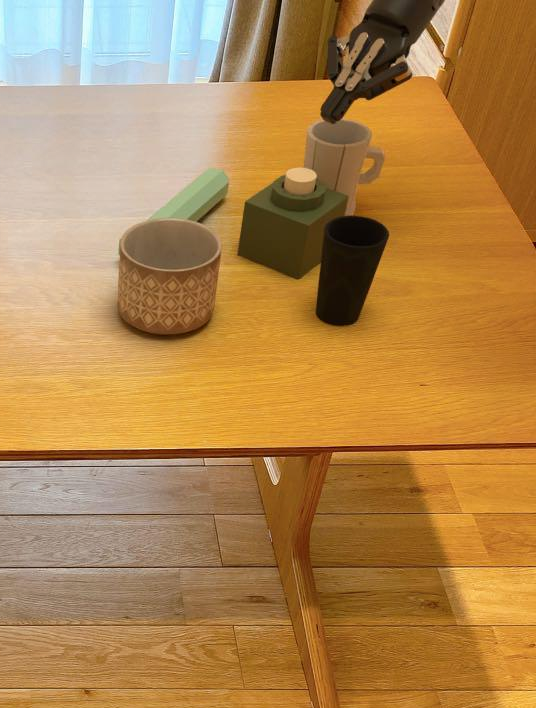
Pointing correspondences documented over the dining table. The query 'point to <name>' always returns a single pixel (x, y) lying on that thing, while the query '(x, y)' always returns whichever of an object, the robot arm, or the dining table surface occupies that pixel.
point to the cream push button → (300, 181)
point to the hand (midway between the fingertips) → (326, 119)
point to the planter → (168, 275)
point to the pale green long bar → (196, 197)
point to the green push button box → (288, 226)
